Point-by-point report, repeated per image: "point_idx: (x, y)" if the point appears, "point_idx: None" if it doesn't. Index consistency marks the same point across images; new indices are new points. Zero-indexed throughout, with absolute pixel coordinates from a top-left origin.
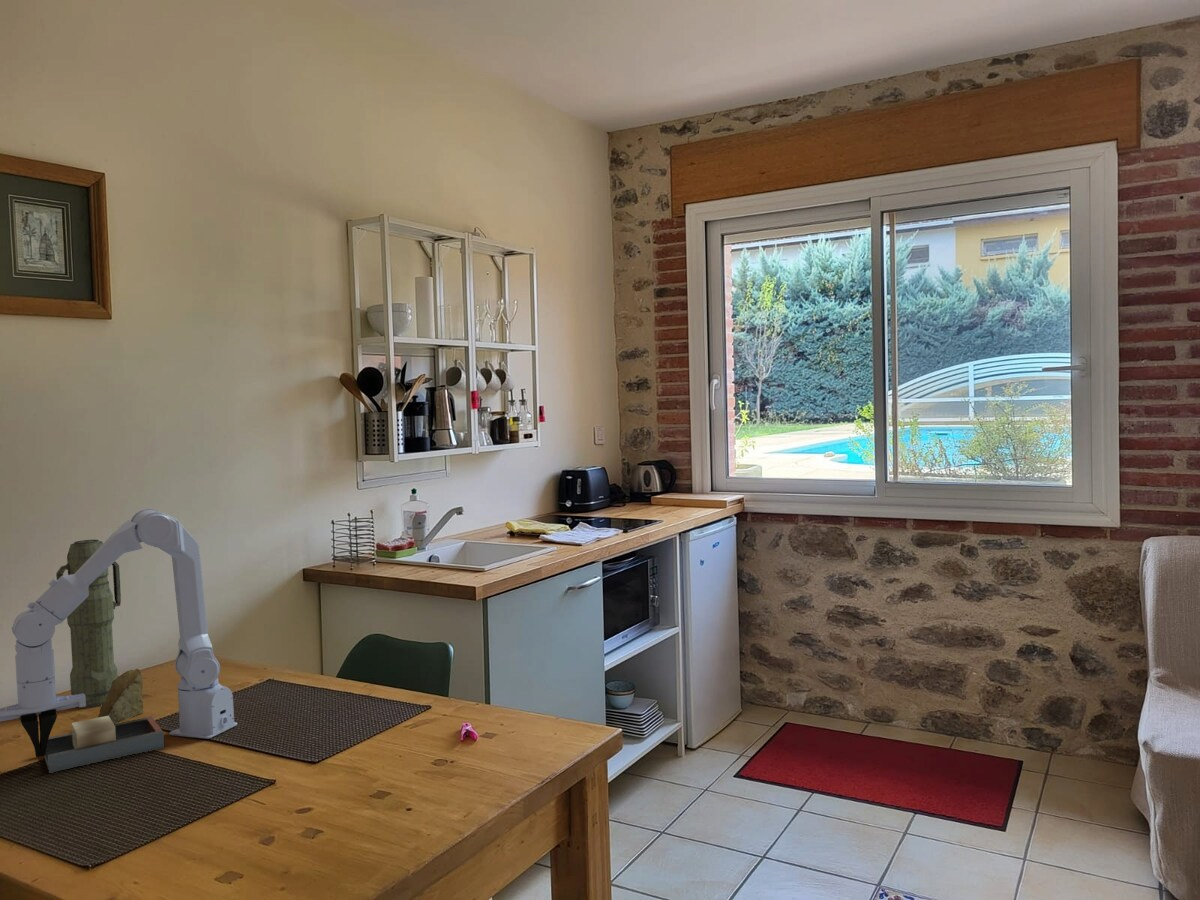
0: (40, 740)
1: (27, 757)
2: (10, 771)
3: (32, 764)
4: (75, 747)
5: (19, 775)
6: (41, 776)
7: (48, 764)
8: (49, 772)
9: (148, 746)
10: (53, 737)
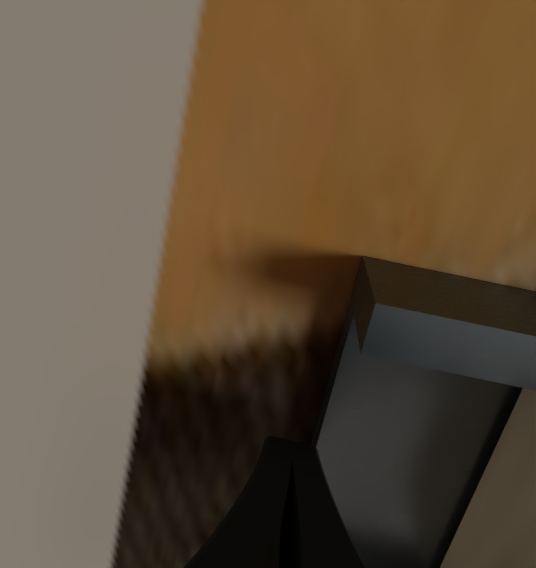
0: (285, 544)
1: (276, 209)
2: (146, 378)
3: (261, 367)
4: (475, 528)
5: (171, 468)
6: None
7: None
8: None
9: None
10: (445, 347)
